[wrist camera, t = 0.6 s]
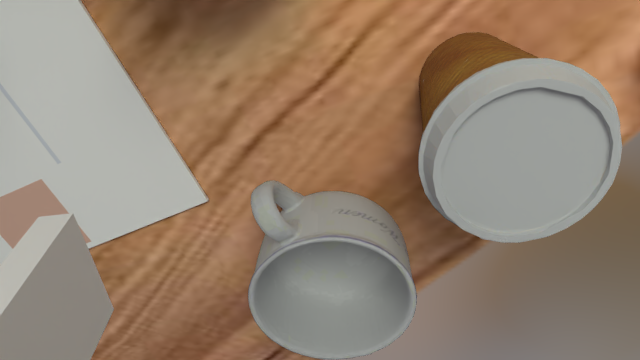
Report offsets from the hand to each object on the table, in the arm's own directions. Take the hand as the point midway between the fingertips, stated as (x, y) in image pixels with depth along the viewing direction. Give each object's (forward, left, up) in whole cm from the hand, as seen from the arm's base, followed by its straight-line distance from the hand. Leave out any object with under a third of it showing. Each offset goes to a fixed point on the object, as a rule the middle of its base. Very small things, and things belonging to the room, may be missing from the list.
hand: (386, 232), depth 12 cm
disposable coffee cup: (+8, +5, -25) cm, 27 cm away
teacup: (+14, -8, -25) cm, 30 cm away
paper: (-1, -24, -25) cm, 34 cm away
